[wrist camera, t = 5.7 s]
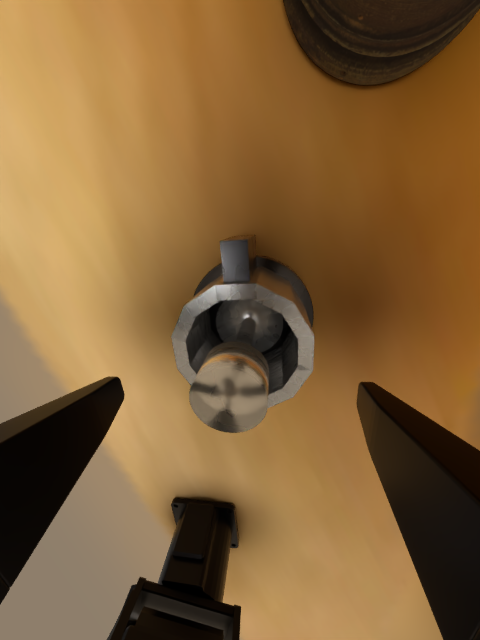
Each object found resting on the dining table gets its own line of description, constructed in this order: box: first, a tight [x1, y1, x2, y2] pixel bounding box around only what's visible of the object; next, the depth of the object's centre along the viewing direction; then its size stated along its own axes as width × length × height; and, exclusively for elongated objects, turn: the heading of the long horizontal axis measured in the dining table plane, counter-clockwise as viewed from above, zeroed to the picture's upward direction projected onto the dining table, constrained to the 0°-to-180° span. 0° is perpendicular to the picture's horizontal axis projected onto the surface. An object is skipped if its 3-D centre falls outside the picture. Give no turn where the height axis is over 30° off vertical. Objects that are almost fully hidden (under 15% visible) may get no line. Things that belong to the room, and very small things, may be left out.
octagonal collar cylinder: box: [171, 235, 314, 408], centre depth 14 cm, size 9×8×5 cm
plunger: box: [189, 299, 283, 433], centre depth 12 cm, size 4×4×8 cm
